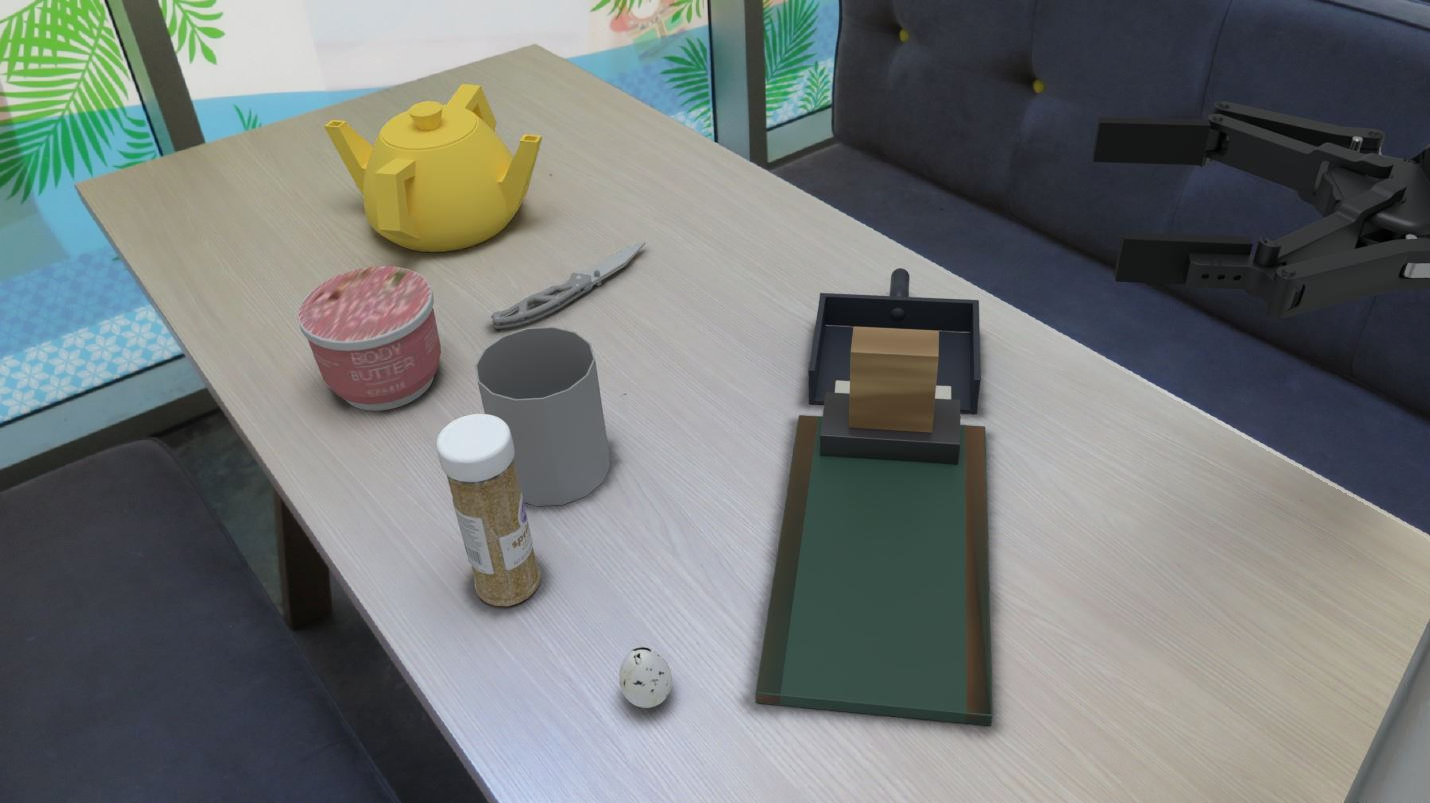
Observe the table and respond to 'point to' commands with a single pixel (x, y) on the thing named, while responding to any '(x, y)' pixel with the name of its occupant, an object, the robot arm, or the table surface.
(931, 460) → the eraser
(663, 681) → the egg
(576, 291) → the knife
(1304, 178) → the robot arm
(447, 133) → the teapot
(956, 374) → the dustpan
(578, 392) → the cup
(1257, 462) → the table surface
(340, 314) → the container
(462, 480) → the sprinkles bottle
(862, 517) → the chalkboard
